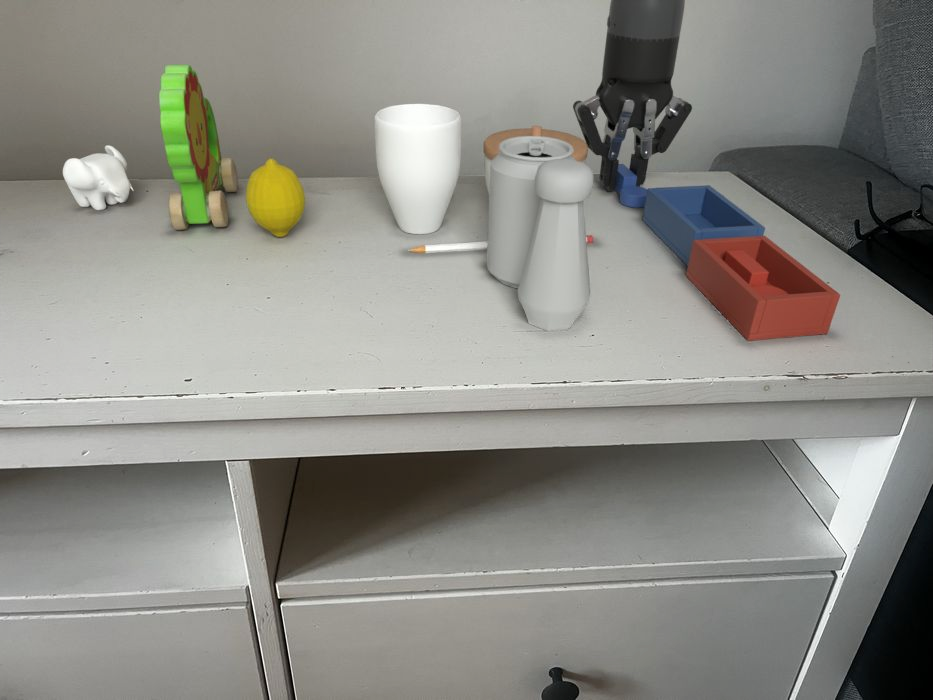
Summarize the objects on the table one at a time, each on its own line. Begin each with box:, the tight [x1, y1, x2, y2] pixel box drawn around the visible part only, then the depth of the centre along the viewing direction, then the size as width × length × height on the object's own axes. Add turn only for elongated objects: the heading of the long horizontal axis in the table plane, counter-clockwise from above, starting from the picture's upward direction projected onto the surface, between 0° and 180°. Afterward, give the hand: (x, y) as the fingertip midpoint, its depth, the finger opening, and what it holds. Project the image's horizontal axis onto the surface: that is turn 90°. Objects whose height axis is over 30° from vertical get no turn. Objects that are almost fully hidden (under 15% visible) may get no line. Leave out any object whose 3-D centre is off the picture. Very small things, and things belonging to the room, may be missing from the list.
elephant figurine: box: [62, 145, 135, 211], centre depth 76 cm, size 7×8×6 cm
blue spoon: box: [614, 163, 648, 209], centre depth 83 cm, size 8×3×2 cm, turn 10°
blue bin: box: [642, 184, 766, 267], centre depth 72 cm, size 7×11×4 cm, turn 10°
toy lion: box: [158, 64, 239, 231], centre depth 73 cm, size 16×5×15 cm, turn 9°
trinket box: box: [482, 125, 589, 193], centre depth 76 cm, size 11×11×9 cm
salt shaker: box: [517, 159, 595, 332], centre depth 56 cm, size 6×6×13 cm
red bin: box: [685, 235, 841, 341], centre depth 61 cm, size 7×11×4 cm, turn 10°
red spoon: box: [724, 250, 788, 297], centre depth 62 cm, size 8×3×2 cm, turn 10°
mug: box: [373, 103, 462, 235], centre depth 73 cm, size 12×8×11 cm
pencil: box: [407, 234, 594, 254], centre depth 71 cm, size 1×19×1 cm, turn 101°
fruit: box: [245, 156, 306, 238], centre depth 70 cm, size 6×6×8 cm
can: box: [486, 136, 576, 289], centre depth 63 cm, size 8×8×12 cm
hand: (621, 187), depth 85 cm, fingers closed
